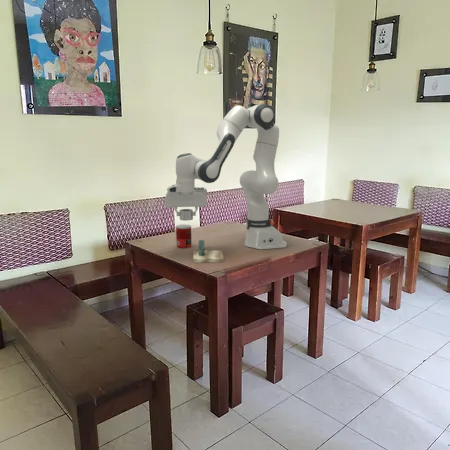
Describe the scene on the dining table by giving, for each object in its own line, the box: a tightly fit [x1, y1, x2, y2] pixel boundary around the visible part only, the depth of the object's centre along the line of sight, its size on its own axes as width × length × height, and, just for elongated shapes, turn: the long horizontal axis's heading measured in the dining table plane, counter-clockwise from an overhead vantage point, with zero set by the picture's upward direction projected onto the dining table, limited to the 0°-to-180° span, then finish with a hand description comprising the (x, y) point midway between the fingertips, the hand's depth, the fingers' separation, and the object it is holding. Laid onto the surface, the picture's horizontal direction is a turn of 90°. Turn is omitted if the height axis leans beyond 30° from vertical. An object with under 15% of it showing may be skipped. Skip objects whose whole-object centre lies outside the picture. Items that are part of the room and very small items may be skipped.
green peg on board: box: [192, 239, 225, 264], centre depth 199 cm, size 14×14×8 cm
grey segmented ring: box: [178, 208, 194, 222], centre depth 204 cm, size 6×6×4 cm
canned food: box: [175, 224, 192, 249], centre depth 218 cm, size 8×8×11 cm
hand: (186, 215), depth 204 cm, fingers closed on grey segmented ring, 6 cm apart
